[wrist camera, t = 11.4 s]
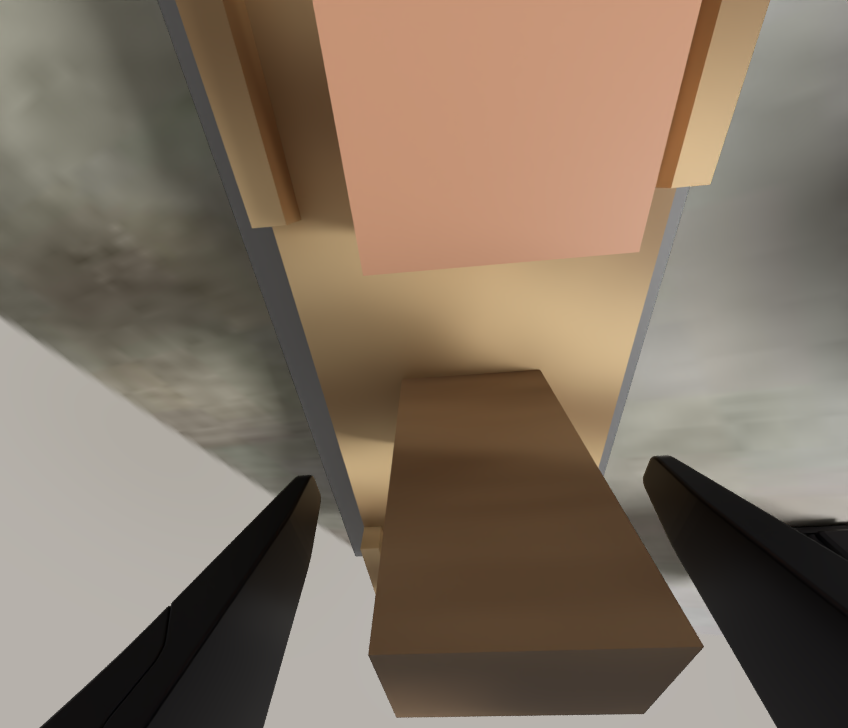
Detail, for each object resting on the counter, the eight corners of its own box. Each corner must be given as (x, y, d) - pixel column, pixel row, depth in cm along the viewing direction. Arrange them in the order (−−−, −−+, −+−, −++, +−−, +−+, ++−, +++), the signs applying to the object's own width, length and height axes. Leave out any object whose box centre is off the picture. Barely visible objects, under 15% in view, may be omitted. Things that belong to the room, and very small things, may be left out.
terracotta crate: (546, 220, 8) (639, 251, 4) (390, 234, 8) (363, 275, 5) (571, -13, 6) (771, -276, 2) (360, 15, 6) (276, -193, 3)
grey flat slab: (563, 503, 22) (582, 547, 19) (363, 512, 22) (355, 556, 20) (696, -102, 9) (811, -221, 6) (202, -34, 9) (116, -114, 7)
